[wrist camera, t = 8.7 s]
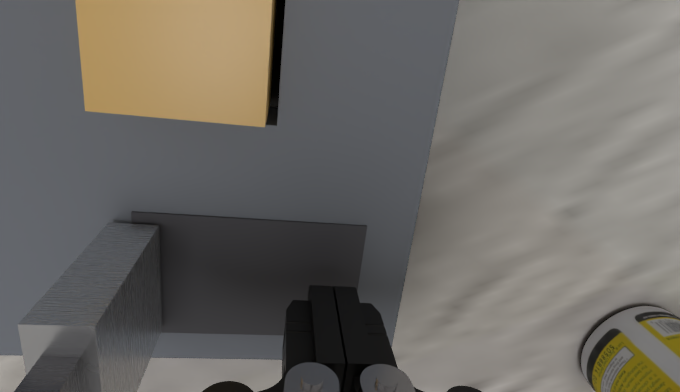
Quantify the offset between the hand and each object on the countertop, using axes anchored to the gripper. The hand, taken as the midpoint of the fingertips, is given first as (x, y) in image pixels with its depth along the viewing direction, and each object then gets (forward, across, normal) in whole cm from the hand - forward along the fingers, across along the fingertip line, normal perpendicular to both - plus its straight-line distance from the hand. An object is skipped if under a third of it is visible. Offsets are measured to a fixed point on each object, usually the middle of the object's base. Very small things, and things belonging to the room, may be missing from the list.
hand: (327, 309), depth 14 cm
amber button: (+4, +5, -8) cm, 10 cm away
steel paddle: (+1, +6, 0) cm, 6 cm away
